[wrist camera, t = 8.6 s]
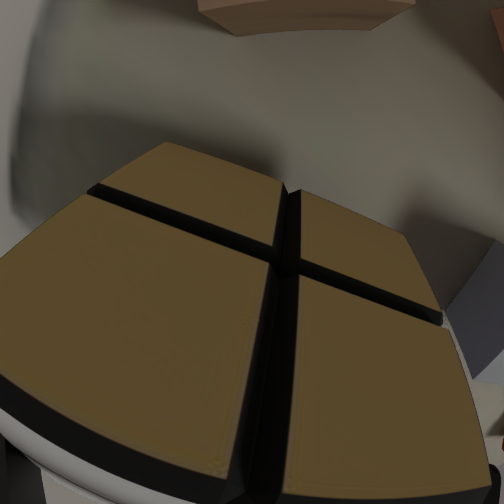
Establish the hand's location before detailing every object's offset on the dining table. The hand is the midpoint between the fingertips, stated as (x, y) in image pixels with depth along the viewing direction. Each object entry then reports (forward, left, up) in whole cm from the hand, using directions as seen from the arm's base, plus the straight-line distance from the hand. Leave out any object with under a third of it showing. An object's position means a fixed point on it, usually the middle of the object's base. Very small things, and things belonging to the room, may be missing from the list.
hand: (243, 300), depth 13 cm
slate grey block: (0, +17, -5) cm, 17 cm away
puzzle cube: (0, 0, -1) cm, 1 cm away
